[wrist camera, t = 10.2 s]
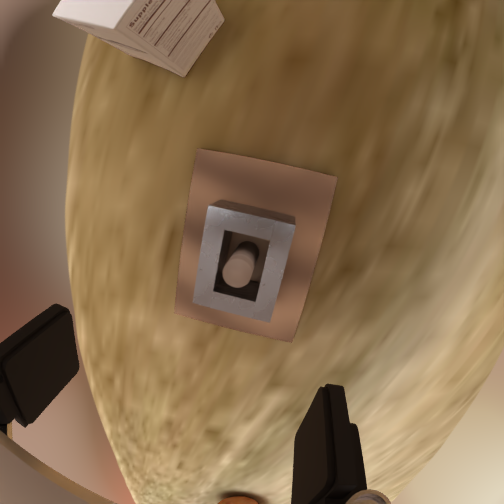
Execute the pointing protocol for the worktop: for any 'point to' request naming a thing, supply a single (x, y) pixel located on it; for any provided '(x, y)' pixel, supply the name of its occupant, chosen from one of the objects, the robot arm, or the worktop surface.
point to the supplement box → (148, 27)
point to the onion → (238, 500)
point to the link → (216, 250)
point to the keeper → (252, 248)
